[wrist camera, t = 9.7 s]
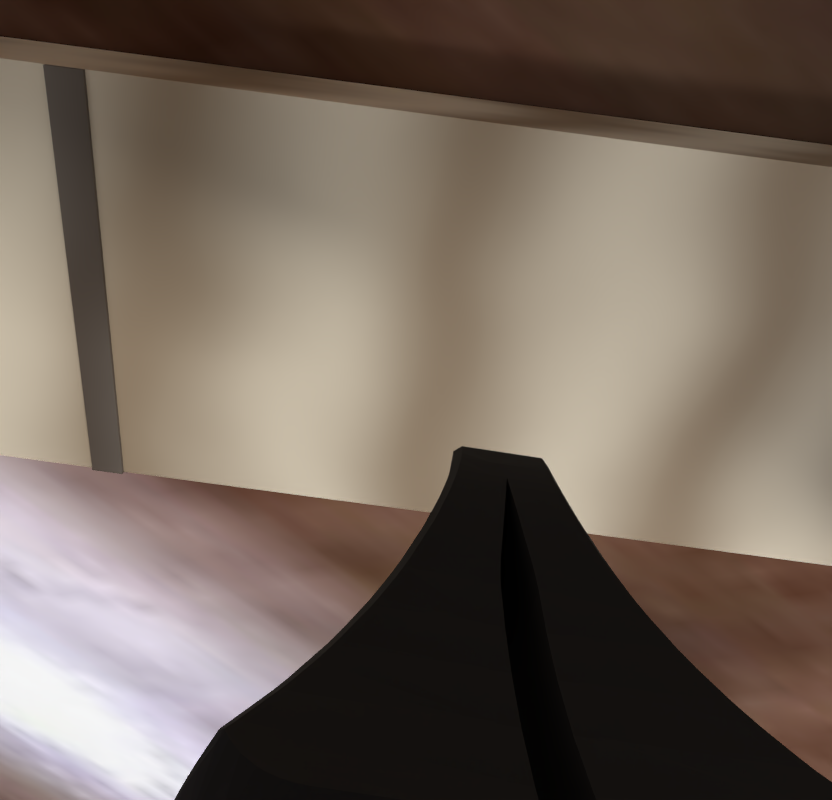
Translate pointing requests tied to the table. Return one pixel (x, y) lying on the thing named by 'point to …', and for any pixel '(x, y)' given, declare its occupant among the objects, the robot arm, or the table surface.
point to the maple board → (414, 296)
